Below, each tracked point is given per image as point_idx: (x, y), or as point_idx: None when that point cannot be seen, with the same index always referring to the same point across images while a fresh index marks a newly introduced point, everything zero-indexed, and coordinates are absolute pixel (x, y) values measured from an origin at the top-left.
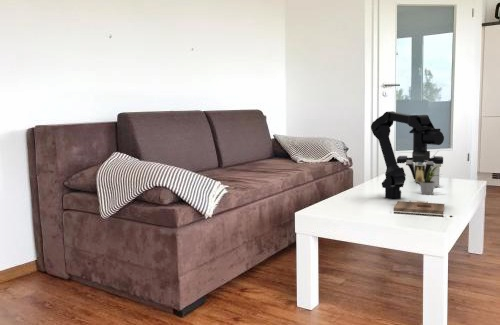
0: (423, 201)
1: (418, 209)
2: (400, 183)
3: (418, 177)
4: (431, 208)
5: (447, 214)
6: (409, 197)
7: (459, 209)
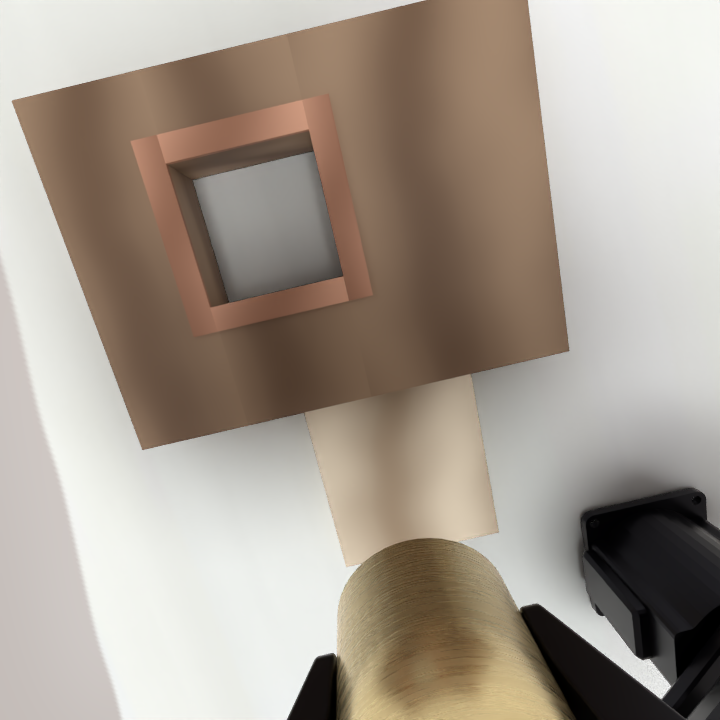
0: None
1: (260, 41)
2: (710, 693)
3: (442, 609)
4: (149, 136)
5: None
6: None
7: (71, 497)
